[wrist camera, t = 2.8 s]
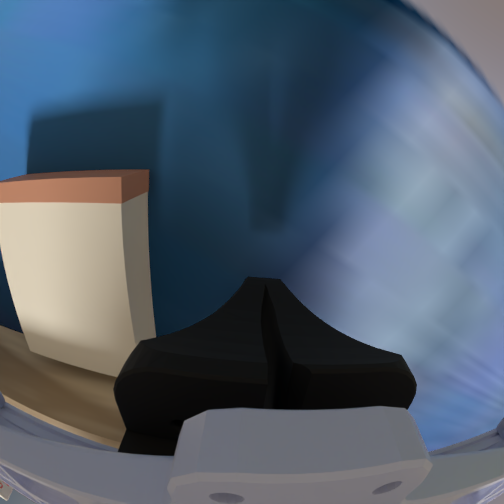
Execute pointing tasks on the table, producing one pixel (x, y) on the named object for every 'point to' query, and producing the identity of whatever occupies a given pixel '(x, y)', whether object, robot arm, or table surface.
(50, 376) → the shelf wall
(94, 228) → the book
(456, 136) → the table surface
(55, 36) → the table surface
